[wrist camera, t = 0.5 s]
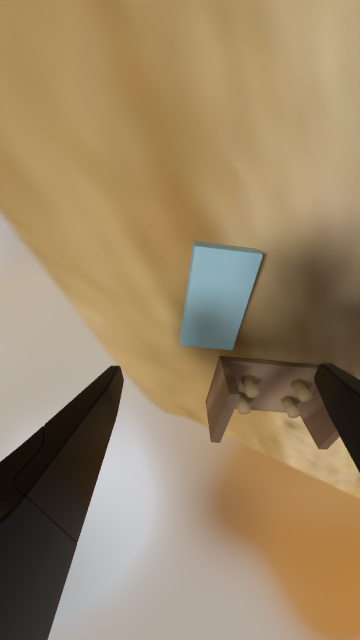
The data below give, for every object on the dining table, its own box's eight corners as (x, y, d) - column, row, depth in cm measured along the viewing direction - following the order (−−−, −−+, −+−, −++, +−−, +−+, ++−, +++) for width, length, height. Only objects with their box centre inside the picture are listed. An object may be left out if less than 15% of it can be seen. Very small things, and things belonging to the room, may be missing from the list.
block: (193, 240, 16) (195, 246, 14) (252, 247, 17) (263, 254, 15) (180, 331, 21) (180, 345, 19) (227, 335, 21) (232, 350, 19)
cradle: (334, 367, 23) (369, 405, 19) (303, 410, 27) (326, 449, 23) (219, 356, 22) (229, 393, 18) (205, 402, 26) (210, 442, 22)
